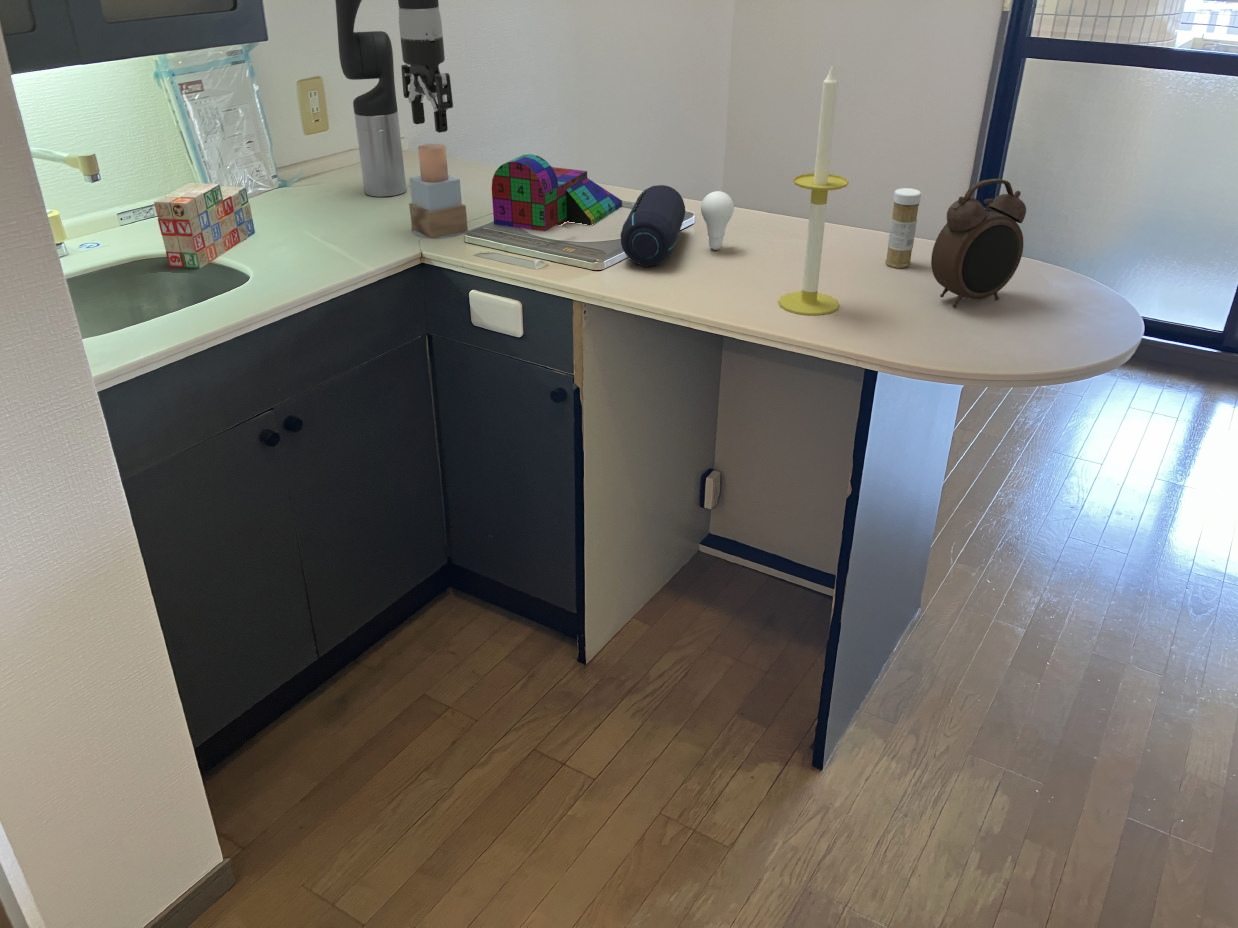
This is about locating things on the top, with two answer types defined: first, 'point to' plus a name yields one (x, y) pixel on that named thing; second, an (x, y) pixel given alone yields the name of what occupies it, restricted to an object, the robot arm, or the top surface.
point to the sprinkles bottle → (903, 227)
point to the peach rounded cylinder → (433, 162)
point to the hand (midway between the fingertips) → (430, 127)
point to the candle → (817, 212)
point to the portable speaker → (653, 225)
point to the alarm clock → (979, 244)
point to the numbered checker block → (546, 195)
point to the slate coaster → (437, 237)
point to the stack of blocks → (203, 222)
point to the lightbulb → (717, 216)
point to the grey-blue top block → (435, 193)
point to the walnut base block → (438, 220)
